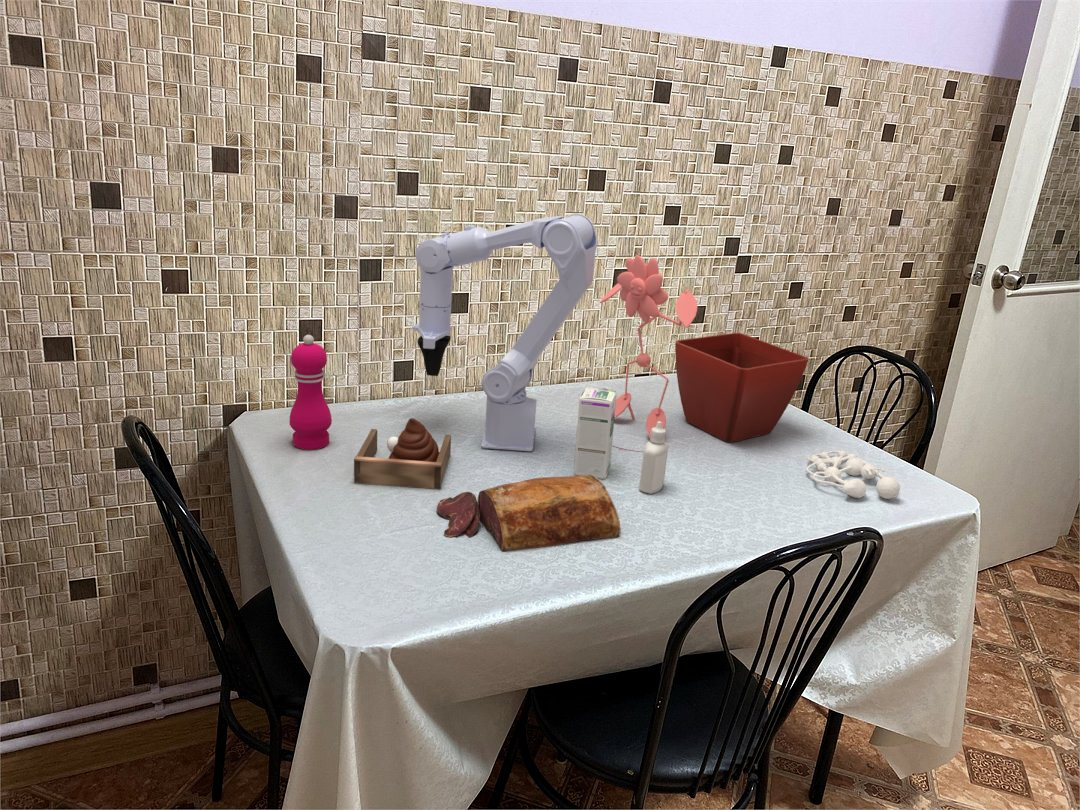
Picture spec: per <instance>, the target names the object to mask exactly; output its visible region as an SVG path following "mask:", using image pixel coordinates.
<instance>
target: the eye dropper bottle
mask: <svg viewBox="0 0 1080 810" xmlns="http://www.w3.org/2000/svg"><path fill="white" fill-rule="evenodd" d="M666 433H667V430H666V429H665V428H664V429H663V428H662V422H660V421H658V422H657V425H656V427H654V428H652V429H651V436H650V437H649V441H648V442H647V443H646V445H645V446H644V448H643V449H644V450H643V452H642V453H643V455H642V463H641V468H640V469H641V471H640V477H639V486H638V489H639V491H640V492H643V493H646V494H650V495H653V494H655V493H657V492H659V491H661V490H662V489H663V486H664V484H665V478H666V477H665V476H666V470H667V469H666V467H667V461H668V454H669V445H668V443H667V442H666V436H667V435H666Z"/></svg>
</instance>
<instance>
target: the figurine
mask: <svg viewBox="0 0 1080 810" xmlns="http://www.w3.org/2000/svg"><path fill="white" fill-rule="evenodd" d="M625 267H626V270H627V271H623V272H621V273H620V274H619V275H618V276H617V278H616V281H617V283H616V284H615V285H614V286H613V287H612V288H611V289H609V290H608V292H606V293H605V295H604V296H603V298H601V300H600V301H599V303H600V304H602V303H604V302H606V301H608V300H610V299H611V298H612V297H614V296H615V295H616V294H618V292H620V293H619V296H620V297H619V298H620V300H621V301H623V302H625V311H626V312H625V313H626V315H627V317H630V318H632V317H635V315H636V313H638V316H639V317H640V319H641V321H642V322H643V323H642V324H639V325H638V327H637V332H638V341H639V347H640V353H639V354H638V355H637V356H636V358H635V360H631V361H630V362H627V364H626V373H625V374H626V375H625V387H624V388H625V391H624V393H623V394H621V395H620V396H618V397H616V405H615V417H614V419H615V418H617V417H618V416H620V415H621V414H623V412H625V410H626V409H627V408H628V409H629V413H630V417H631V420H632V421H634V420H635V419H636V418H635V415H634V411H633V409H632V408H633V407H632V405H631V401H632V394H631V393H630V392H629V393H628V378H629V366H630V365H631V364H632V365H633V364H635V363H636V364H637V365H638V366H639V367H640V368H647V367H648V368H649V369H651V371H654V373H656V374H658V375H659V376H661V377H662V378H663V379H665V380H666V382H665V386H664V388H663V392H662V394H661V398H660V401H659V405H658V407H655V408H653V409H652V410H651V411H650V413H649V414H648V415H647V418H646V420H645V429H646V432H647V434H648V437H649V438H650V436H651V429H652V428H654V427H656V425H657V422H658V421H660V422H662V428H663V429H665V428H666V423H667V421H666V415H665V411H664V410H663V409H662V408H661V407H662V404H663V400H664V399H665V398H664V397H665V394H666V391H667V388H668V385H669V378H668V377H666V376H665V375H663V374H662V373H660V372H659V371H658V370H657V369H655V368H654V367H652V366H651V365H650V363H651V356H650V355H649V354H647V353H644V348H643V339H642V331H641V329H642V328H644V327H645V326H646V325H647V324H649V323H651V322H652V321H653V320H656V319H657V318H662V319H664V320H665V321H666V320H667V321H668V322H670V323H673V324H675V325H678V326H680V327H681V326H682V325H683V326H685V327H686V328H689V327H690V325H692V323H693V321H694V320H695V318H696V317H697V313H698V302H697V301H698V300H697V299H696V297H695V296H694V293H692V292H690V290H689V289H685V290H684V292H683V293H681V294H680V295H679V296H678V299H677V300H676V304H675V312H676V316H677V318H678V320H679V321H677V320H676V319H672V318H670V317H669V316H666V315H664V314H663V313H662V311H660V309H659V305H663V304H665V303H666V302H667V301H668V299H669V294H668V293H667V292H666V290H664V289H663V288H662V285H663V280H664V278H663V275H662V274H660V273H659V264H658V260H657V258H655V257H652V258H651V259H649V261H648V262H647V263H646V262H645V260H644V259H643V257H642V256H641V255H640V254H636V255H634V258H631V257H629V258H626V260H625ZM612 448H616V449H618V450H621V451H627V452H629V451H630V452H637V453H643V451H641V450H640V451H639V450H632V449H627V448H623V447H618V446H616V445H615V446H614V445H612Z"/></svg>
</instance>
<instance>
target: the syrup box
mask: <svg viewBox="0 0 1080 810" xmlns="http://www.w3.org/2000/svg"><path fill="white" fill-rule="evenodd" d="M578 399H579V400H578V411H577V412H578V413H577V427H576V438H575V439H576V440H575V452H574V453H575V454H574V465H573V466H574V467H573V475H574V476H581V475H593V476H595V477H596V478H597V479H599V480H606V478H607V476H608V473H609V470H610V468H611V459H612V450H613V438H614V426H615V418H616V416H615V405H616V399H617V391H616V390H613V389H607V388H600V387H584V390H583V391H582V393H581V394H580V397H579V398H578ZM614 417H615V418H614Z"/></svg>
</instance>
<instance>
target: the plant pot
mask: <svg viewBox="0 0 1080 810" xmlns="http://www.w3.org/2000/svg"><path fill="white" fill-rule="evenodd" d="M674 346H675V347H674V349H675V352H674V354H675V368H676V369H675V370H676V379H677V386H678V391H679V392H678V393H679V398H680V403H681V407H682V411H683V414H684V415H683V416H684V418H685V421H686V423H689V424H691V425H693V426H695V427H697V428H699V429H701V430H702V431H704V432H706V433H708V434H709V435H713V436H714V437H716V438H719V440H722V441H724V442H727V443H734V442H738V441H743V440H746V439H751V438H757V437H760V436H764V435H768V434H771V433H772V431H773V430H774V429H775V427H776V426H777V424H778V423H779V422H780V420H781V418H782V416H783V415H784V413H785V411H786V410H787V408H788V406H789V404H790V403H791V400H792V399H793V397H794V395H795V393H796V391H797V389H798V387H799V385H800V381H802V380H801V379H802V378H803V376H804V373H805V371H806V368H807V366H808V362H809V360H810V358H809V357H807V356H804V355H802V354H799V353H797V352H794V351H792V350H789V349H785V348H782V347H780V346H778V345H775V344H772V343H770V342H768V341H765V340H761V339H758V338H755V337H753V336H750V335H747V334H744V333H742V332H733V333H732V332H731V333H725V334H716V335H707V336H700V337H699V336H698V337H694V338H693V337H691V338H685V339H677V340H675V345H674Z"/></svg>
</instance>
